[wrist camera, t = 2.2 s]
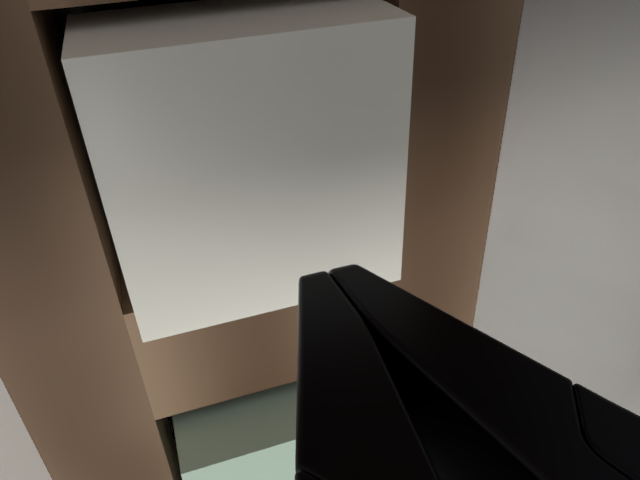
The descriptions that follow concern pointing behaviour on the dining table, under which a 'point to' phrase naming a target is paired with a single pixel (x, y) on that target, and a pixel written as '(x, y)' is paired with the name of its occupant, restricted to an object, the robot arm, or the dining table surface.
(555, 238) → the dining table surface
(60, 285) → the button panel
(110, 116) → the cream button
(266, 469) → the sage button
